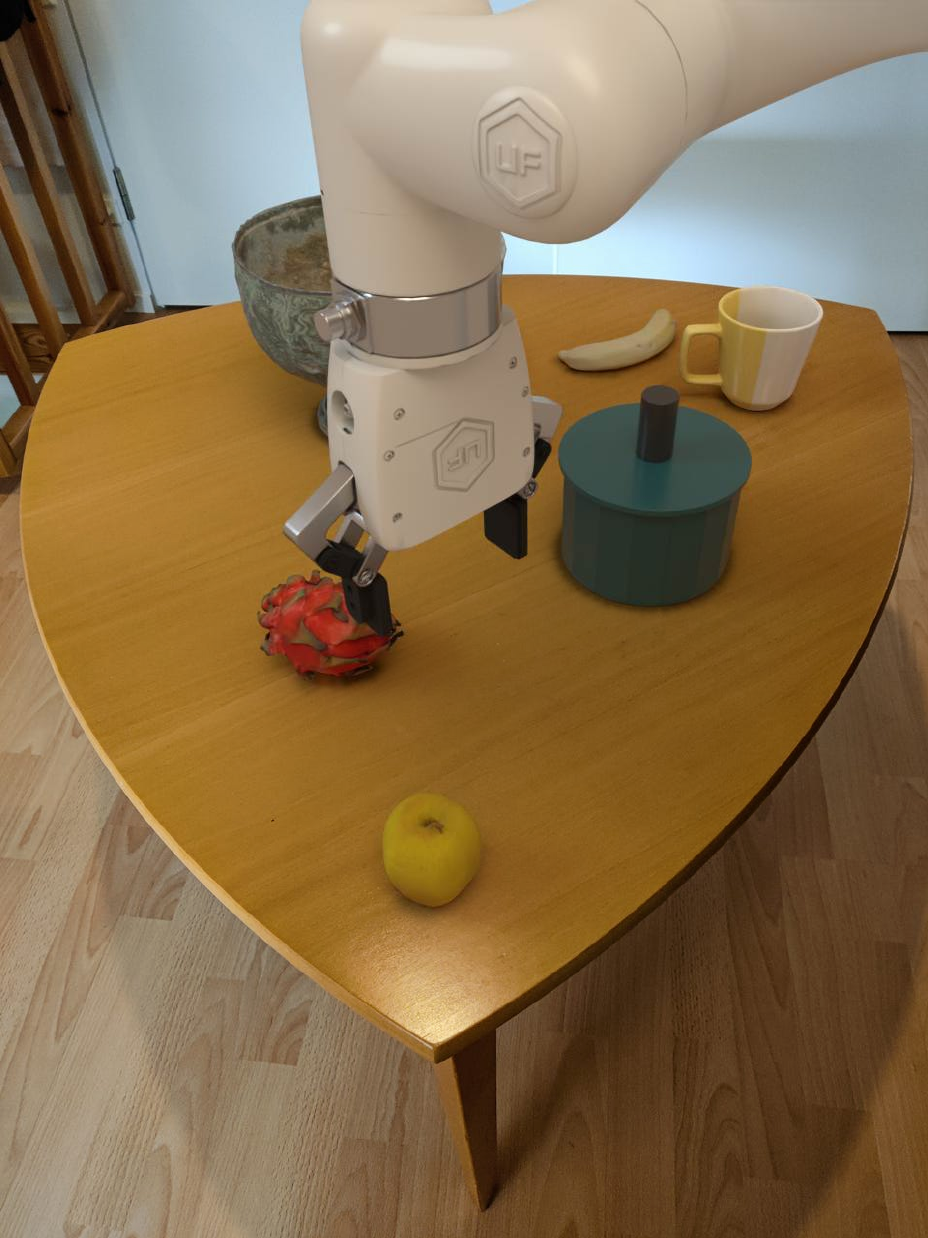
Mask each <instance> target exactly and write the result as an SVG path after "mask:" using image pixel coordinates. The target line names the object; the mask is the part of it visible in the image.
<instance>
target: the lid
mask: <svg viewBox="0 0 928 1238" xmlns="http://www.w3.org/2000/svg"><path fill="white" fill-rule="evenodd" d="M680 397H681V396H680V392H679V391H678V390H677V389H676V388H674V387H672V386H670V385H665V384H654V385H653V384H652V385H649V386H647V387H645V388H644V389H643V390H642V391H641V393H640V402H628V403H623V404H617V405H612V406H608V407H605V408H601V409H598V410H595V411H594V412H591V413H588V414H587V415H585V416H583V417H581V418H580V419H578V420H577V421H575V422H574V423H573V424H572V425H571V426H570V427H569V428H567V430H566V431H565V432H564V434H563V435H562V437H561V440H560V441H559V446H558V451H557V452H558V453H557V457H558V459H557V462H558V466H559V470H560V471H561V474H562V476H563V478H564V477H565V479H566V480H567V481H568V483H569V484H570V485H571V486H572V487H573V488H574V489H575V490H577V491H578V492H579V493H580V494H582V495H583V496H585V497H586V498H588V499H590V500H592V501H593V502H596V503H598V504H600V505H602V506H605V507H608V508H610V509H613V510H617V511H620V512H624V513H629V514H635V515H641V516H652V517H672V516H683V515H690V514H695V513H699V512H703V511H707V510H709V509H712V508H715V507H717V506H719V505H721V504H723V503H725V502H727V501H728V500H730V499H731V498H733V497H734V496H735V495H737V494H738V493H739V492H740V491H741V492H742V490H743V488H744V487H745V486H746V485H747V483H748V482H749V478H750V476H751V471H752V467H753V456H752V453H751V449H750V447H749V445H748V443H747V441H746V440H745V439H744V437H743V436H742V435H741V434H740V433H739V432H738V431H737V430H736V429H735V428H734V427H732V426H731V425H730V424H728V423H726V422H725V421H724V420H722V419H720V418H718V417H716V416H715V415H712V414H710V413H707V412H705V411H702V410H699V409H696V408H692V407H688V406H684V405H680Z"/></svg>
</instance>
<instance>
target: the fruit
mask: <svg viewBox="0 0 928 1238" xmlns="http://www.w3.org/2000/svg"><path fill="white" fill-rule="evenodd" d="M676 332H677V320H676V319H675V317H674V316H673V314H672V313H671V312H670V311H669V310H667V309H666V308H659V309H657V310H655V312H654V313H653V314H652V315H651V317H650V318H649V320H648V322H647V324H645V326H644V327H642V328H641V329H639V330H637V331H635V332H633V333H631V334H628V335H626V336H622V337H619V338H614V339H609V340H605V341H599V342H593V343H585V344H582V345H578V346H575V347H573V348H572V349H570V350H568V349H561V350H560V351H559V352H558V354H557V358H558V359H559V360H561V361H562V362H564V363H565V364H566V365H567V366H568V367H569V368H571V369H573V370H576V371H577V370H578V371H586V372H589V371H593V372H594V371H608V370H609V371H610V370H617V369H621V368H625V367H630V366H633V365H637V364H639V363H642V362H645V361H647V360H649V359H651V358H654V357H655V356H656V355H659V354H660V353H661V352H662V351H663V350H665V349H666V348H667V347H669V345H670V344H672V341H673V340H674V338H675V335H676Z"/></svg>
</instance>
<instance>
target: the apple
mask: <svg viewBox="0 0 928 1238" xmlns="http://www.w3.org/2000/svg"><path fill="white" fill-rule="evenodd" d="M392 810H393V811H391V813H390V815H389V816H388V818H387V819H386V821H385V824H384V827H383V833H382V837H381V838H382V839H381V851H382V853H381V854H382V860H383V866H384V871H385V874H386V876H387V878H388V879H389V882H390V883H391V885H393V886H394V888H395V889H397V890H398V892H400V893H401V894H402V895H403V896H404V897H405V898H407V899H409V900H410V901H412V902H414V903H416V904H420V905H423V906H427V907H430V908H431V907H432V908H438V907H441V906H444V905H447V904H449V903H450V902H452V901H453V900H454V899H456V898H457V897H458V896H459V895H460V894H461V893H462V892H463V890H464V889H465V888H466V887H467V886H468V884H469V883H470V882H471V881H472V880H473V878H474V876H475V875H476V873H477V872H478V870H479V867H480V865H481V862H482V858H483V840H482V835H481V831H480V828H479V826H478V824H477V822H476V820H475V818H474V817H473V816H472V814H471V813H470V812H469V811H468V809H467V808H466V807H465V806H464V805H463V804H461V803H460V802H458V801H456V800H455V799H453V798H451V797H449V796H447V795H445V794H441V793H438V792H437V793H436V792H431V791H429V792H428V791H427V792H425V791H423V792H417V793H414V794H412V795H410V796H408V797H406V798H404V799H403V800H402V801H400V802H399V803H398V804H397V805H396V806H395V807H394V809H392Z"/></svg>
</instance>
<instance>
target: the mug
mask: <svg viewBox="0 0 928 1238" xmlns="http://www.w3.org/2000/svg"><path fill="white" fill-rule="evenodd" d="M823 317H824V308H823V306H822V305H821V304H820V303H819V302H818V301H817V300H816V299H815V298H813V297H812V296H810V295H808V294H806V293H805V292H801V291H799V290H796V289H792V288H790V287H789V288H788V287H783V286H776V285H752V286H751V285H750V286H744V287H741V288H737V289H734V290H732V291H730V292H727V293H726V294H724V295H723V296H722V297H721V298H720V299H719V302H718V306H717V323H694V324H688V325H687V326H686V327H685V328H684V329H683V333H682V336H681V341H680V348H679V355H678V356H679V357H678V371H679V377H680V378H681V380H683V382H685V383H686V384H689V385H697V386H713V387H714V386H716V387H719V389H720V390H721V392H722V393H723V394H724V395H725V396H726V398H727V400H728V401H729V402H730V403H732V404H733V405H735V406H736V407H738V408H740V409H743V410H747V411H754V412H756V411H757V412H762V411H763V412H764V411H768V410H772V409H774V408H776V407H778V406H779V405H780V404H782V403H783V402H784V401H786V400H788V399H789V398H790V397H791V395H792V394H793V393H794V391H795V387H796V385H797V384H798V380H799V378H800V375H801V374H802V370H803V368H804V365H805V363H806V361H807V359H808V355H809V354H810V350H811V348H812V346H813V343H814V341H815V338H816V336H817V333H818V330H819V328H820V325H821V323H822V320H823ZM698 335H711V336H714V337H715V338H717V339H718V373H716V374H691V373H689V371H688V360H689V359H688V358H689V357H688V356H689V350H690V346H691V341H692V339H693V338H694V337H695V336H698Z"/></svg>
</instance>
